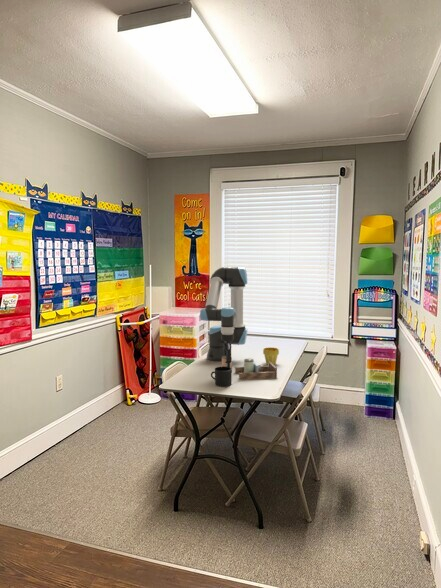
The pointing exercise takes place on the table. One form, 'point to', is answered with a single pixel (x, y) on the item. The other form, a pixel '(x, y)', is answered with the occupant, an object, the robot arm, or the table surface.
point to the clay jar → (225, 361)
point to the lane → (262, 373)
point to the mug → (222, 376)
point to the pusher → (256, 367)
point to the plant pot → (271, 354)
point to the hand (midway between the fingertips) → (227, 371)
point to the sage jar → (248, 365)
